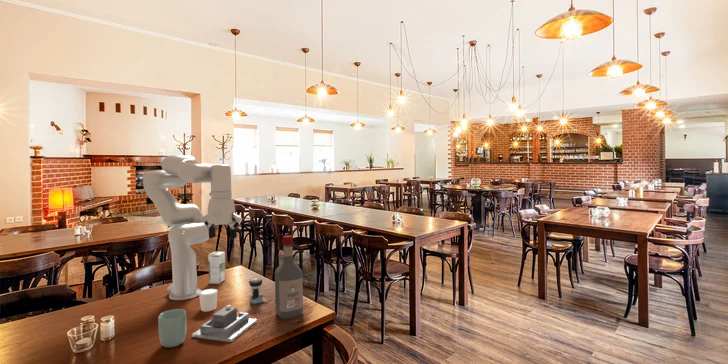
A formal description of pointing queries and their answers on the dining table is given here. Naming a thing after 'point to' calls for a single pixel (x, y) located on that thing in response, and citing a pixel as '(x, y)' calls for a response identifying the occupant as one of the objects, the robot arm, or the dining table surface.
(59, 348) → the dining table surface
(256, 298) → the push button
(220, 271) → the syrup box
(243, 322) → the plate
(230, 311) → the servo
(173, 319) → the cup
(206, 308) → the white cylinder
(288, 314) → the liquor
